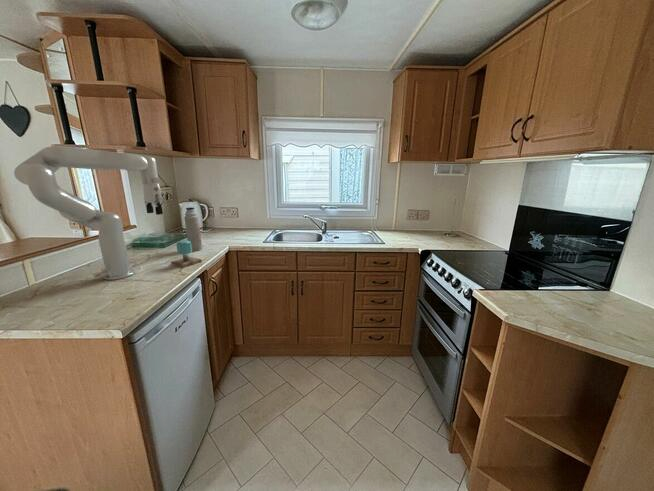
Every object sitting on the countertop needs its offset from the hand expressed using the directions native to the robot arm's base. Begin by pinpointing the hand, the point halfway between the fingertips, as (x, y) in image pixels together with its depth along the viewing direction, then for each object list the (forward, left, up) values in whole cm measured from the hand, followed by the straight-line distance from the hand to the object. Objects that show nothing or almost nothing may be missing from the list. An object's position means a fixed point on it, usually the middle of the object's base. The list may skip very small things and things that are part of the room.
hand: (154, 213), depth 144 cm
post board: (+6, -13, -28) cm, 31 cm away
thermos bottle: (+26, +7, -28) cm, 39 cm away
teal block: (+6, -13, -22) cm, 26 cm away
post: (+6, -13, -26) cm, 30 cm away
